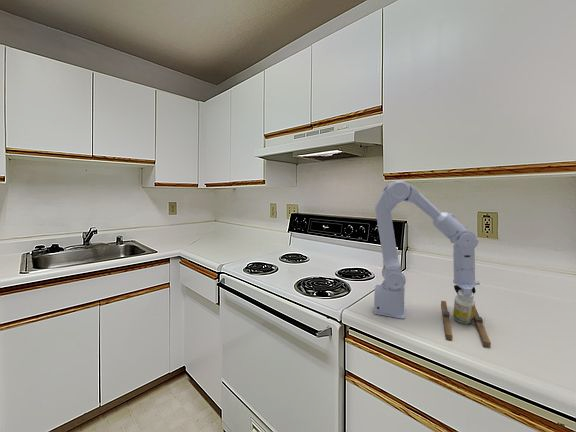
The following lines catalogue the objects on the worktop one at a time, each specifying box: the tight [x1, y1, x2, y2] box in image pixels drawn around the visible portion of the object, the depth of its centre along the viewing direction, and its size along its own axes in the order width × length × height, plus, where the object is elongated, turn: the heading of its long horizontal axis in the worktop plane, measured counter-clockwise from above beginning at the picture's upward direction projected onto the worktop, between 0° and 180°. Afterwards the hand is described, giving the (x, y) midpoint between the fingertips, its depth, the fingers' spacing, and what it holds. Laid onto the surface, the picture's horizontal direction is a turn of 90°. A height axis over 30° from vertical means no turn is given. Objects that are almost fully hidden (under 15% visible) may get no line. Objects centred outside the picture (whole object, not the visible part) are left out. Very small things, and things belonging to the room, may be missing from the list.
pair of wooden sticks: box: [440, 300, 492, 349], centre depth 85 cm, size 10×26×2 cm, turn 154°
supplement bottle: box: [452, 289, 476, 325], centre depth 85 cm, size 5×5×10 cm
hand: (464, 309), depth 88 cm, fingers closed, pressing on supplement bottle
